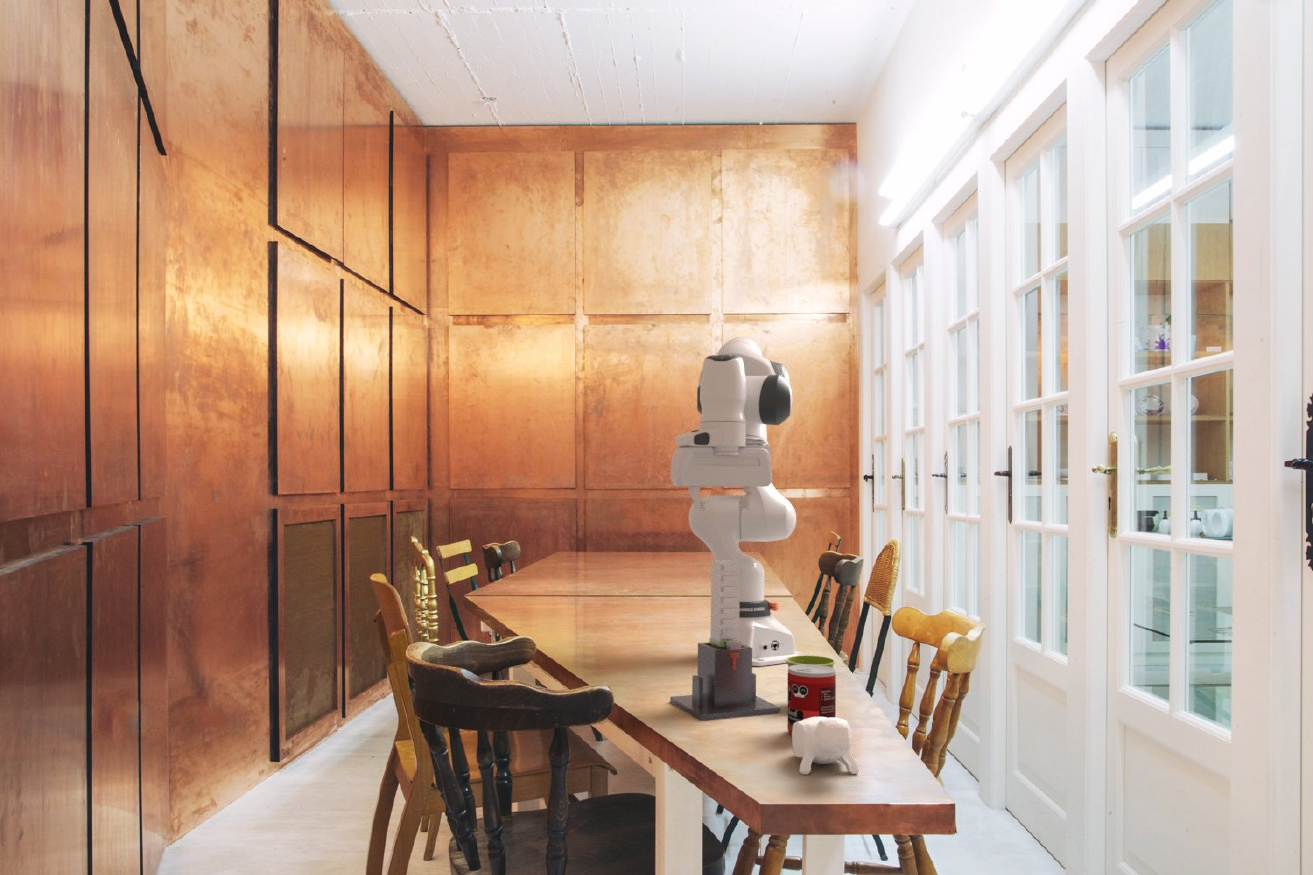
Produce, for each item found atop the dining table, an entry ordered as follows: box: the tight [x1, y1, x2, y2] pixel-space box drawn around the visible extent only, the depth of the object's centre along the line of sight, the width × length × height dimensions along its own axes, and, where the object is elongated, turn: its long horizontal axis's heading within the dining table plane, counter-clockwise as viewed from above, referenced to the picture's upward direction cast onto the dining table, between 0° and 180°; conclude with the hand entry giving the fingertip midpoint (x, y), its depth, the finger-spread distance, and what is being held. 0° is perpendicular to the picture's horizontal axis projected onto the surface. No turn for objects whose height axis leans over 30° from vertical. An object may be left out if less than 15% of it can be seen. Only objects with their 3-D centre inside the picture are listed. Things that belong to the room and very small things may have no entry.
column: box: [708, 560, 740, 649], centre depth 168 cm, size 4×5×20 cm
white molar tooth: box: [791, 716, 860, 776], centre depth 132 cm, size 9×8×15 cm
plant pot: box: [786, 654, 837, 669], centre depth 169 cm, size 9×9×9 cm
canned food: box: [787, 664, 837, 737], centre depth 150 cm, size 8×8×11 cm
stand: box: [669, 640, 781, 721], centre depth 167 cm, size 16×14×13 cm
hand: (721, 510), depth 170 cm, fingers open, 8 cm apart
